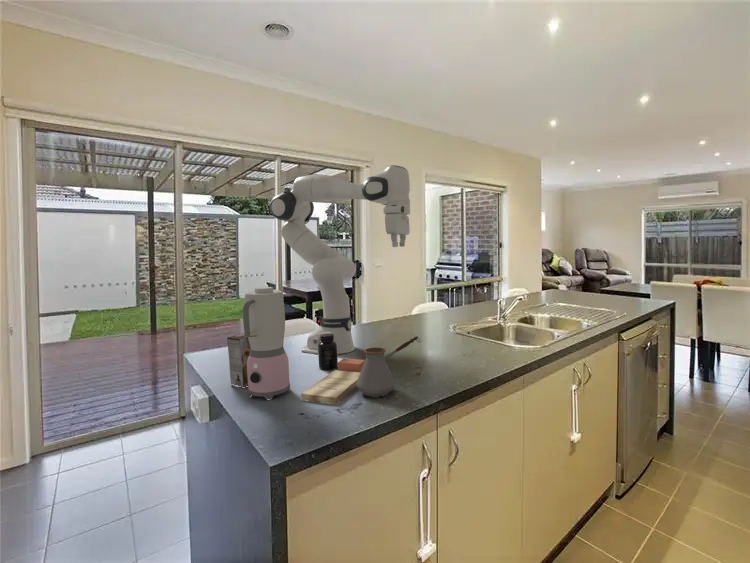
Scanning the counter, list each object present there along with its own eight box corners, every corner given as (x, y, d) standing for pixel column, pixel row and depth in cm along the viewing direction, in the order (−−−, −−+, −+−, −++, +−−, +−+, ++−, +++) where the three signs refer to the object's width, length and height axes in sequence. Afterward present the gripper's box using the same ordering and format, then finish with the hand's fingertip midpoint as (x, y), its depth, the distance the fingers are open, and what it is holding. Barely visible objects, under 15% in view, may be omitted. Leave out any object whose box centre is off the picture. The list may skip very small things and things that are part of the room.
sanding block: (338, 375, 135) (337, 362, 135) (344, 370, 140) (343, 358, 139) (360, 377, 132) (359, 364, 132) (365, 372, 137) (364, 359, 137)
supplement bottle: (340, 365, 146) (339, 333, 144) (333, 371, 139) (331, 337, 138) (324, 364, 148) (322, 332, 147) (315, 369, 141) (314, 336, 140)
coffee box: (252, 377, 135) (249, 331, 133) (265, 380, 131) (263, 332, 130) (229, 386, 127) (226, 336, 125) (243, 389, 124) (240, 338, 122)
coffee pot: (367, 403, 110) (365, 350, 109) (350, 390, 120) (348, 341, 119) (430, 388, 120) (429, 339, 118) (410, 377, 130) (409, 332, 129)
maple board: (301, 400, 113) (300, 393, 113) (334, 375, 134) (334, 370, 134) (336, 404, 109) (335, 397, 109) (365, 378, 130) (365, 372, 130)
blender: (265, 384, 128) (260, 285, 125) (298, 387, 124) (293, 285, 121) (231, 402, 113) (224, 291, 110) (267, 407, 109) (261, 291, 106)
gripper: (397, 212, 160) (398, 246, 161) (381, 208, 140) (382, 247, 142) (413, 211, 157) (413, 246, 159) (398, 207, 138) (399, 247, 140)
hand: (398, 246), depth 150 cm, fingers open, 8 cm apart
